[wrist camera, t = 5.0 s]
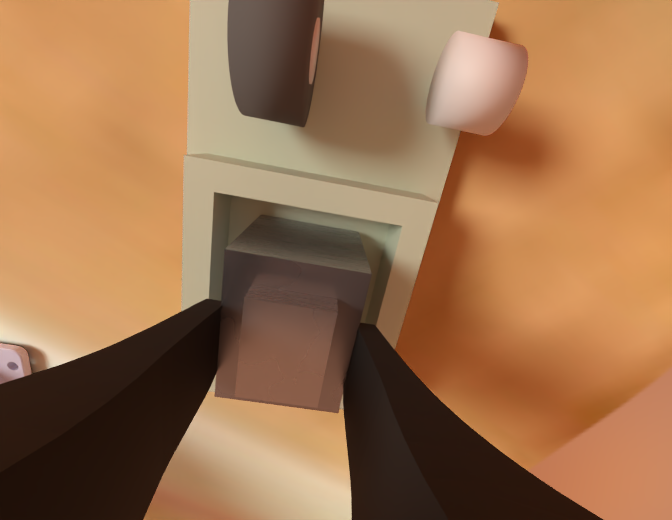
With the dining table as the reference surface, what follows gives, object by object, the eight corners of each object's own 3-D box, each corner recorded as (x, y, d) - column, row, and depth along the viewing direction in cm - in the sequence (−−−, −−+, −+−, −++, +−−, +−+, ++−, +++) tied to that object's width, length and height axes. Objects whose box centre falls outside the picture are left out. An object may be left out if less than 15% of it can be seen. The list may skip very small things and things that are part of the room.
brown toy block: (336, 335, 14) (338, 434, 10) (249, 322, 14) (204, 416, 9) (358, 231, 13) (375, 285, 8) (260, 214, 13) (213, 259, 8)
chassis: (381, 370, 17) (398, 443, 13) (191, 342, 16) (143, 411, 12) (485, 14, 11) (573, -60, 7) (203, -53, 11) (121, -179, 6)
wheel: (309, 130, 11) (298, 123, 8) (257, 119, 11) (220, 108, 8) (328, -2, 10) (326, -87, 6) (269, -16, 10) (231, -111, 6)
